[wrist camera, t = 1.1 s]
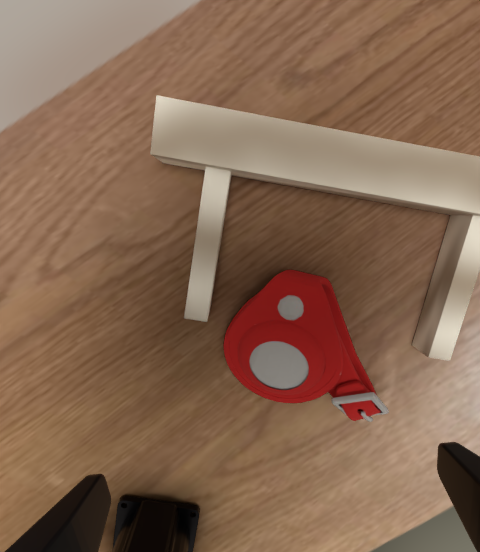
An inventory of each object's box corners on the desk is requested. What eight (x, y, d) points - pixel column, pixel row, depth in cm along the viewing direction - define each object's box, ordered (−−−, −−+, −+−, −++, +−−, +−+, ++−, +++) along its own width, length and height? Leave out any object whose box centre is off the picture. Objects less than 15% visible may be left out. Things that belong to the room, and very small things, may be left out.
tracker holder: (211, 398, 22) (226, 275, 18) (229, 360, 26) (244, 251, 22) (386, 453, 20) (449, 326, 16) (376, 402, 24) (425, 290, 20)
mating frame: (483, 356, 23) (519, 377, 20) (146, 302, 22) (132, 315, 19) (543, 184, 20) (595, 178, 17) (168, 113, 19) (156, 95, 16)
